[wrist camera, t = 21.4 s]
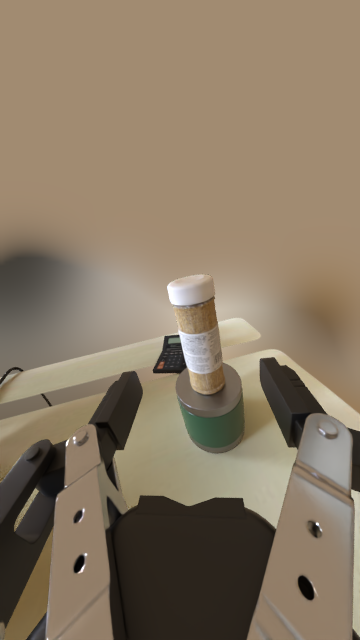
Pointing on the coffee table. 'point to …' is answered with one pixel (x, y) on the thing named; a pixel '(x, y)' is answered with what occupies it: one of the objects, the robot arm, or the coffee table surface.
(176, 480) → the coffee table surface
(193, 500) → the coffee table surface
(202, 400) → the tin can
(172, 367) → the calculator
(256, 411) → the coffee table surface
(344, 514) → the robot arm
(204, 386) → the spice jar
